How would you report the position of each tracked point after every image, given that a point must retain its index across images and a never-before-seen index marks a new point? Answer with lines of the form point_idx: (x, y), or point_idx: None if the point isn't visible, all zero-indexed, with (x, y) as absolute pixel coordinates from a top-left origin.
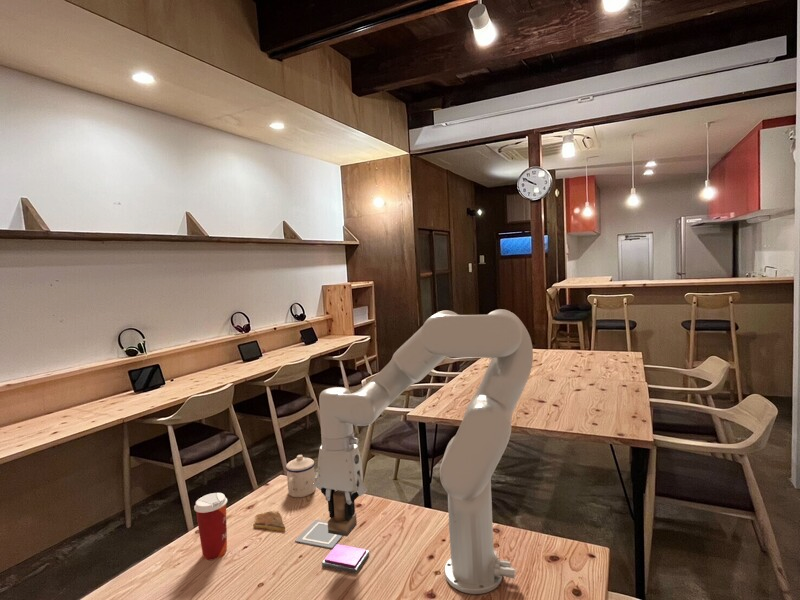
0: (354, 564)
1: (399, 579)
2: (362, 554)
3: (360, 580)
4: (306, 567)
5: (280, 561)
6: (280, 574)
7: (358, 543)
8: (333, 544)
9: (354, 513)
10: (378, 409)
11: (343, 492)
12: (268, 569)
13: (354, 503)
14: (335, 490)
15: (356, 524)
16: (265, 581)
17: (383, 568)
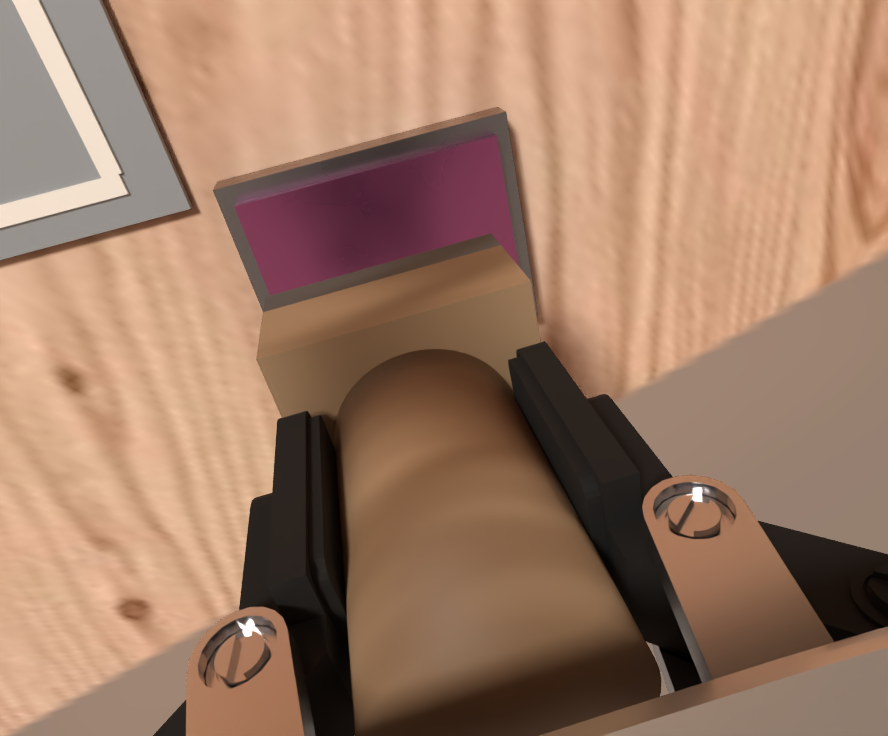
0: None
1: (788, 205)
2: (505, 198)
3: (582, 329)
4: (215, 424)
5: (17, 477)
6: (143, 529)
7: (321, 23)
8: (162, 171)
9: (599, 396)
10: None
11: (556, 696)
12: (38, 545)
13: (662, 465)
14: (305, 706)
15: (492, 239)
16: (130, 590)
17: (661, 176)
